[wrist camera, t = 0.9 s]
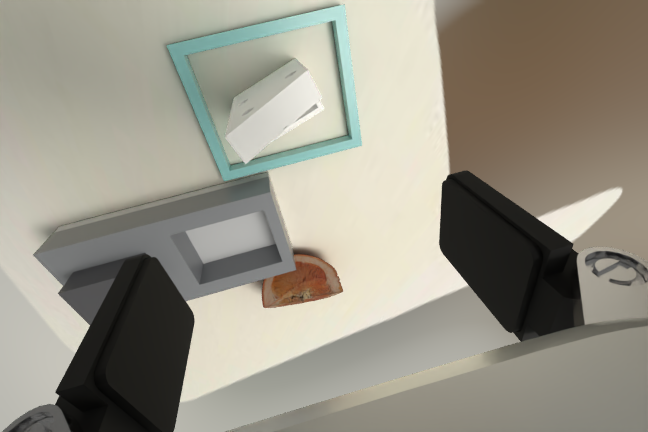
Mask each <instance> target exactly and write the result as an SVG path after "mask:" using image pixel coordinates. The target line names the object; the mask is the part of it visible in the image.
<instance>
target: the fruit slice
mask: <svg viewBox="0 0 648 432" xmlns="http://www.w3.org/2000/svg"><path fill="white" fill-rule="evenodd" d="M294 260H295V265H296V270H294V271H291V272H287V273H284V274H280V275H277V276H273V277H270V278H266V279H264V281H263V287H262V301H263V307H264V308H273V307H274V308H276V307H281V306H287V305H293V304H300V303H304V302H310V301H315V300H319V299H324V298H328V297H331V296H333V295H336V294H338V293H341V292H343V289H342V286H341V283H340V282H339V280H340V279H339V277H338V276H337V272H336V270H335V269H334V268H333V267H332V266H331V265H330V264H328V263H327V262H325V261H323V260H322V259H320V258H317V257H314V256H310V255H304V254H296V255H294Z"/></svg>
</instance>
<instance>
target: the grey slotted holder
mask: <svg viewBox="0 0 648 432" xmlns="http://www.w3.org/2000/svg"><path fill="white" fill-rule="evenodd" d="M144 254H148V255H149V256H151V257H156V258H157V259H158V260H159V262H160V263H161V265H162V266H163V268H164V269H165V271H166V272H167V274H168V275H169V277H170V278H171V280H172V281H173V283H174V284H175V286H176V287H177V289H178V291H179V292H180V294H181V295H182V297H183V298H184V300H185V301H188V300H192V299H195V298H199V297H202V296H206V295H209V294H213V293H217V292H220V291H224V290H227V289H231V288H234V287H238V286H241V285H245V284H248V283H252V282H255V281H259V280H263V279H266V278H270V277H273V276H277V275H280V274H284V273H287V272H291V271H294V270H296V265H295V260H294V254H293V249H292V244H291V241H290V238H289V235H288V232H287V229H286V226H285V223H284V219H283V216H282V213H281V210H280V207H279V204H278V201H277V198H276V195H275V192H274V189H273V185H272V182H271V179H270V176H269V173H268V172H266V173H262V174H258V175H254V176H251V177H247V178H243V179H239V180H235V181H231V182H228V183H224V184H220V185H216V186H212V187H208V188H205V189H201V190H197V191H193V192H189V193H185V194H182V195H178V196H174V197H170V198H166V199H162V200H159V201H155V202H151V203H147V204H143V205H139V206H135V207H132V208H128V209H124V210H120V211H116V212H112V213H109V214H105V215H101V216H97V217H93V218H89V219H86V220H82V221H78V222H74V223H70V224H66V225H63V226H59V227H58V229H57V230H56V231H55V232H54V233H53V234H52V235H51V236H50V237H49V238H48V239H47V240H46V241H45V242H44V244H43V245H42V246H41V247H40V248H39V249H38V250H37V251H36V252H35V253H34V254H33V255H34V256H35V257H36V258H37V259H38V261H39V262H40V263H41V264H42V265H43V266H44V267H45V268H46V269H47V270H48V271H49V272H50V273H51V274H52V275H53V276H54V277H55V278H56V279H57V280H58V281H59V282H60V283H61V284H62V285H63V287H62V289H61V290H60V292H59V293H58V294H59V295H60V296H61V297H62V298H63V299H64V300H65V301H66V302H67V303H68V304H69V305H70V306H71V307H72V308H73V309H74V310H75V311H76V312H77V313H78V314H79V315H80V316H81V317H82V318H83V319H84V320H85V321H86V322H87V323H88V324H89V325H91V323H92V321H93V320H94V318H95V316H96V314H97V312H98V310H99V308H100V306H101V304H102V302H103V301H104V299H105V297H106V295H107V293H108V291H109V289H110V287H111V285H112V283H113V282H114V280H115V278H116V276H117V274H118V272H119V270H120V268H121V266H122V265H123V263H124V261H125V260H126V259H129V258H133V257H137V256H140V255H144Z"/></svg>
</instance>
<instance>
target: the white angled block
mask: <svg viewBox="0 0 648 432" xmlns="http://www.w3.org/2000/svg"><path fill="white" fill-rule="evenodd" d="M321 98H322V95H321V93H320V91H319V89H318V88H317V86H316V84H315V82H314V80H313V78H312V76H311V74H310V72H309V70H308V69H307V68H306V67H305V66H303V65H302V64H301V63H300V62H299V61H298V60H296V59H293V60H291V61H290V62H288V63H287V64H285V65H284V66H282V67H281V68H279V69H278V70H276V71H274V72H273V73H271V74H270V75H268V76H267V77H265V78H264V79H262V80H260V81H259V82H257V83H256V84H254V85H253V86H251V87H250V88H248V89H246V90H245V91H243V92H242V93H240V94H239V95H237V96H236V97H234V99H233V103H232V107H231V112H230V116H229V120H228V125H227V129H226V134H225V138H226V140H227V141H228V142H229V144H230V145H231V146H232V148H233V149H234V150H235V151H236V153H237V154H238V155H239V157H240V158H241V159H242V160H243V162H244V163H245V164H247V163H248V162H249V161H250V160H251V159H252V158H254V157H255V156H256V155H257V154H258V153H259V152H260V151H262V150H263V149H264V148H265V147H266V146H267V145H268V144H270V143H271V142H272V141H274V140H276V139H277V138H279V137H281V136H282V135H284V134H285V133H287V132H289V131H290V130H292V129H294V128H295V127H297V126H298V125H300V124H302V123H303V122H305V121H307V120H308V119H310V118H311V117H313V116H315V115H316V114H318V113H320V112H321V111H323V110H324V107H323V105H322V103H321V101H320V99H321Z"/></svg>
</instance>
